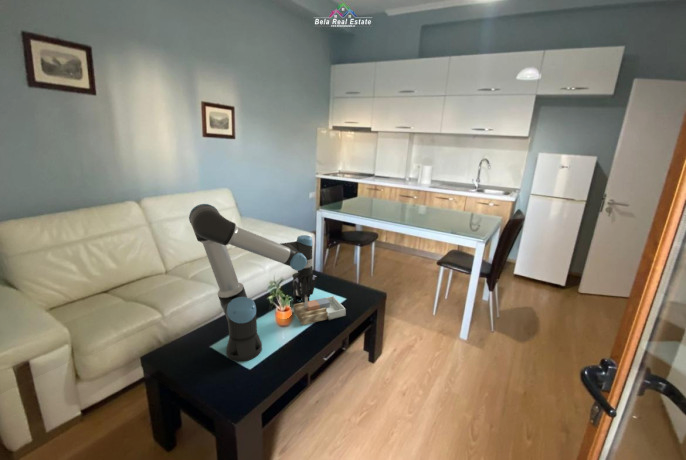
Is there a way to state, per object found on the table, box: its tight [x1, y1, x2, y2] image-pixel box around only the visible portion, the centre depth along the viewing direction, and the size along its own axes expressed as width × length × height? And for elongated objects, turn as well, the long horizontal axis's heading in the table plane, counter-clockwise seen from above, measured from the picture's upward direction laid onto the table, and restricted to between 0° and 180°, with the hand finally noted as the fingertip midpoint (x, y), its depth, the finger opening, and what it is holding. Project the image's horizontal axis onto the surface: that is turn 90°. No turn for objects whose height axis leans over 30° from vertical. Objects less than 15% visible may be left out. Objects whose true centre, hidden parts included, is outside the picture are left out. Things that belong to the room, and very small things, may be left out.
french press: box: [291, 272, 306, 306], centre depth 181 cm, size 12×9×23 cm
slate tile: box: [315, 297, 330, 309], centre depth 172 cm, size 6×6×3 cm
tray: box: [325, 295, 347, 321], centre depth 176 cm, size 10×16×4 cm, turn 27°
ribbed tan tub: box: [292, 303, 329, 326], centre depth 170 cm, size 14×14×6 cm
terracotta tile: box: [306, 299, 320, 312], centre depth 170 cm, size 6×6×3 cm
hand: (305, 307), depth 168 cm, fingers closed
